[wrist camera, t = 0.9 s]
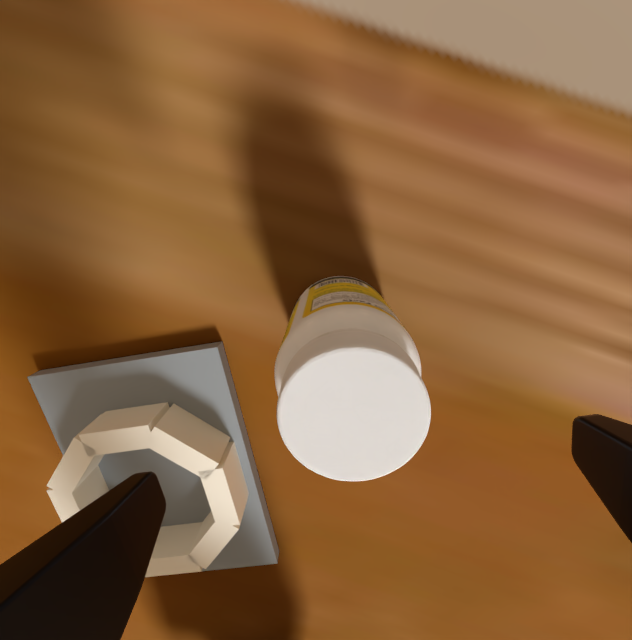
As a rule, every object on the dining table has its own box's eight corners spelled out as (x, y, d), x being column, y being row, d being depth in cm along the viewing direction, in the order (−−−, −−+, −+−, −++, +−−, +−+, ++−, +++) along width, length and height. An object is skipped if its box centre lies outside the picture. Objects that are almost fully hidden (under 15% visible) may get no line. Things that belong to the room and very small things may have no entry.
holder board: (279, 551, 21) (272, 599, 18) (127, 567, 22) (99, 615, 19) (222, 341, 17) (202, 364, 14) (39, 370, 18) (-11, 397, 15)
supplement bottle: (336, 384, 18) (344, 523, 10) (271, 320, 17) (220, 415, 9) (409, 324, 17) (485, 424, 9) (344, 252, 16) (361, 289, 8)
